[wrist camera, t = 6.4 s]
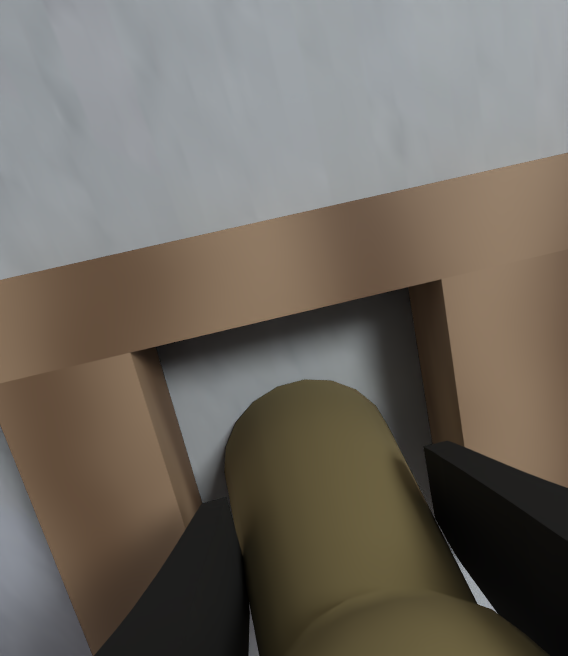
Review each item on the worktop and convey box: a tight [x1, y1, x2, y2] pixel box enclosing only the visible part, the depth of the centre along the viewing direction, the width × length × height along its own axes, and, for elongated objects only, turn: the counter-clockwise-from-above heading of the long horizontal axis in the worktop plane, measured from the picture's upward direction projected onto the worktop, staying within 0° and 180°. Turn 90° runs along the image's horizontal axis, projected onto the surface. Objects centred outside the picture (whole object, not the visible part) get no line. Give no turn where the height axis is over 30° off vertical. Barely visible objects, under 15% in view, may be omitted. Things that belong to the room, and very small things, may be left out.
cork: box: [224, 380, 550, 656], centre depth 9 cm, size 6×6×11 cm
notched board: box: [0, 153, 568, 656], centre depth 13 cm, size 22×12×2 cm, turn 102°
